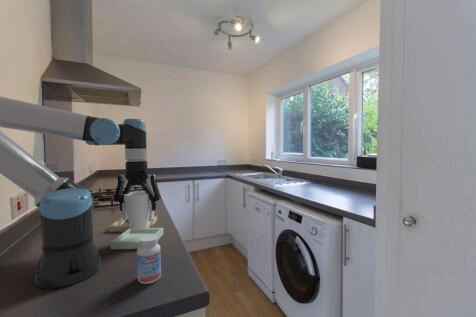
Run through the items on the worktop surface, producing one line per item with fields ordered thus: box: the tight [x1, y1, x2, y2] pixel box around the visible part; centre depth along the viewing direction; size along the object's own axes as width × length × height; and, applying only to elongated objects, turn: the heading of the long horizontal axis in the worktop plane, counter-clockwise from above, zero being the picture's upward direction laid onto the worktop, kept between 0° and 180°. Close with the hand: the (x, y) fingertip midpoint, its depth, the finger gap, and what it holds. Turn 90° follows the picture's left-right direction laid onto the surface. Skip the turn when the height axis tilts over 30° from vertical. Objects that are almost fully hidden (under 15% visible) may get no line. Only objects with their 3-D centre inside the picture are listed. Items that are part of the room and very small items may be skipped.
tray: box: [109, 227, 164, 250], centre depth 87 cm, size 14×14×2 cm
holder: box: [107, 214, 159, 233], centre depth 104 cm, size 16×16×2 cm
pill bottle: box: [136, 235, 162, 285], centre depth 62 cm, size 6×6×11 cm
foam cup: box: [124, 190, 151, 230], centre depth 86 cm, size 10×9×13 cm
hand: (138, 219), depth 87 cm, fingers closed on foam cup, 9 cm apart
